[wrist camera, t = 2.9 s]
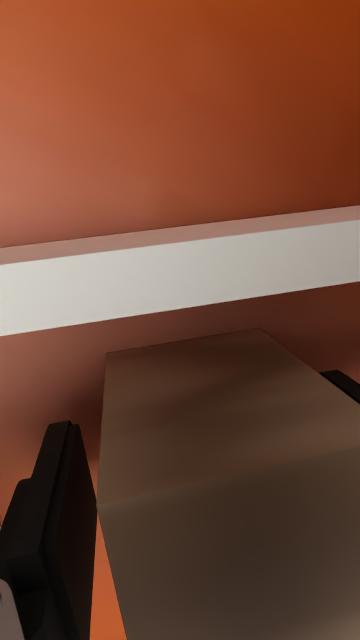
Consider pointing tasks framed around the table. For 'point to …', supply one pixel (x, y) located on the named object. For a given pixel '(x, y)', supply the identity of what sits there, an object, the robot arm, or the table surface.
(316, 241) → the open side box
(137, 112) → the table surface
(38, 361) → the table surface
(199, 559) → the walnut block
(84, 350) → the table surface
